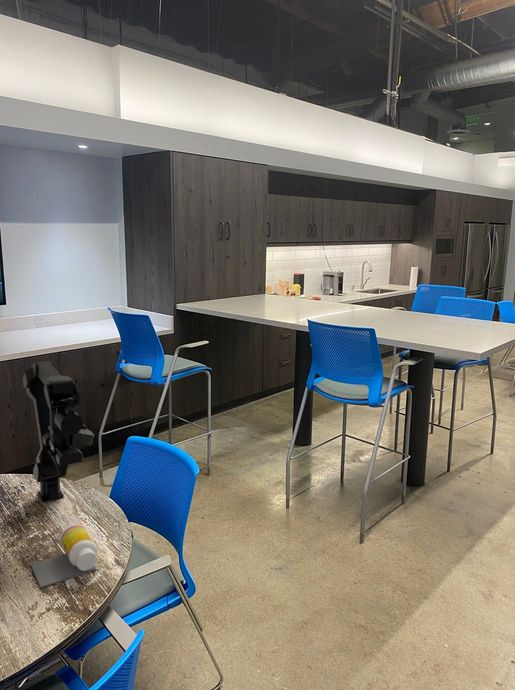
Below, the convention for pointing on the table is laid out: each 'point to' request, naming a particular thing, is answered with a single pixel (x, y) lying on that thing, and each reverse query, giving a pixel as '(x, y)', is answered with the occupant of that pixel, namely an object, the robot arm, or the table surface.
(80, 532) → the supplement bottle
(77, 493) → the table surface
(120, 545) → the table surface
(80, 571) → the mat
